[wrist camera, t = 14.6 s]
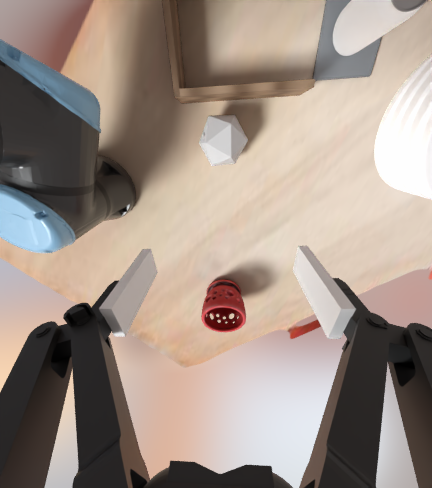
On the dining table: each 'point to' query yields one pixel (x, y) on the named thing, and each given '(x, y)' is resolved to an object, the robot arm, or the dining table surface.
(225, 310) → the plant pot
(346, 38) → the can
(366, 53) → the slate mat
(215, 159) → the die
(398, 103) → the plate stack
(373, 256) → the dining table surface
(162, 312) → the dining table surface
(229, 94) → the walnut u-shaped enclosure
